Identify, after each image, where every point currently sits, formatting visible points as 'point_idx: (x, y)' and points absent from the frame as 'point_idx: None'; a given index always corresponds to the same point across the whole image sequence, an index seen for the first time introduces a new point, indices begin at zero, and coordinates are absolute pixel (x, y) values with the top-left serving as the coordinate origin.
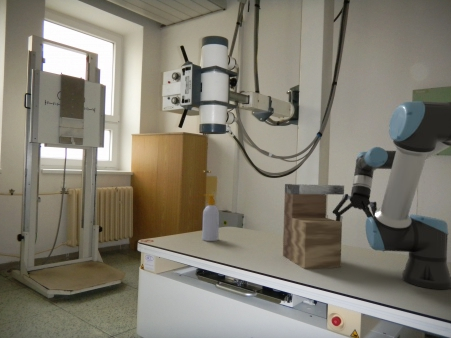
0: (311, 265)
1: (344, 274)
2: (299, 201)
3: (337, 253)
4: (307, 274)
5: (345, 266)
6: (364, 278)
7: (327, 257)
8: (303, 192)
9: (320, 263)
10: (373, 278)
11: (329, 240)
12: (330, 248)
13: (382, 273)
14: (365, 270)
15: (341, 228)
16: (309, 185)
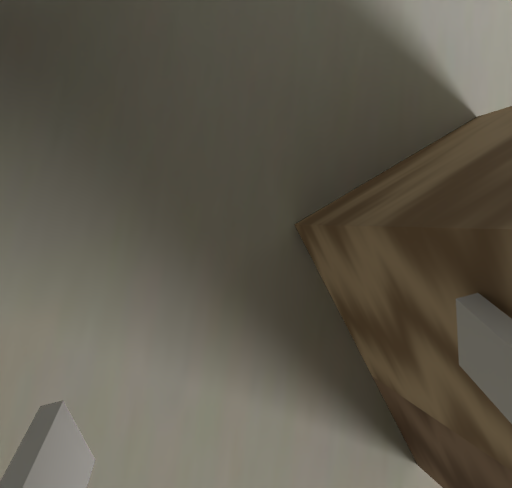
0: (459, 130)
1: (286, 67)
2: None
3: (358, 210)
4: (465, 19)
5: (264, 251)
6: (178, 10)
7: (407, 173)
8: None
9: (421, 156)
10: (120, 23)
11: (496, 163)
12: (433, 176)
13: (35, 160)
14: (146, 199)
15: (501, 224)
16: None
